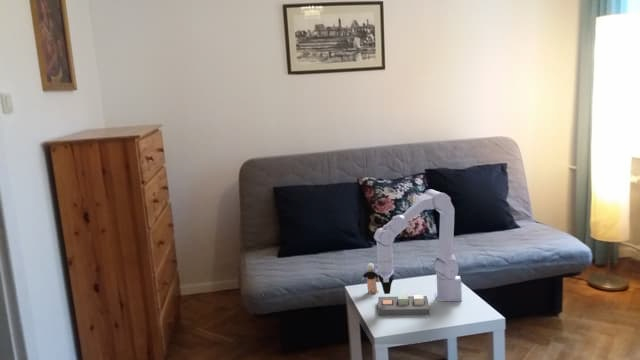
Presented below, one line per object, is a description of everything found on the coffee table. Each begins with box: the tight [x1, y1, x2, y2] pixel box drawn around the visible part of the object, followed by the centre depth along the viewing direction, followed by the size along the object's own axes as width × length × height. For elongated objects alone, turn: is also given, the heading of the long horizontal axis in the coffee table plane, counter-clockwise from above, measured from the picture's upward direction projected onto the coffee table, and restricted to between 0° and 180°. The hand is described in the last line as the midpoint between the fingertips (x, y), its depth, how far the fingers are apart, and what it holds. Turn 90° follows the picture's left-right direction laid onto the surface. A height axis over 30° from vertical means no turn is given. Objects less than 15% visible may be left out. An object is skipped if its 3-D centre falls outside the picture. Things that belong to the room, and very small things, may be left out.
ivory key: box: [413, 294, 424, 305], centre depth 194 cm, size 4×4×3 cm
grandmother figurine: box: [361, 262, 380, 295], centre depth 213 cm, size 8×4×13 cm, turn 84°
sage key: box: [397, 294, 409, 305], centre depth 195 cm, size 4×4×3 cm
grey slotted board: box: [377, 295, 431, 317], centre depth 195 cm, size 19×12×2 cm, turn 83°
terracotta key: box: [383, 300, 392, 305], centre depth 196 cm, size 4×4×3 cm
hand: (387, 293), depth 195 cm, fingers closed
